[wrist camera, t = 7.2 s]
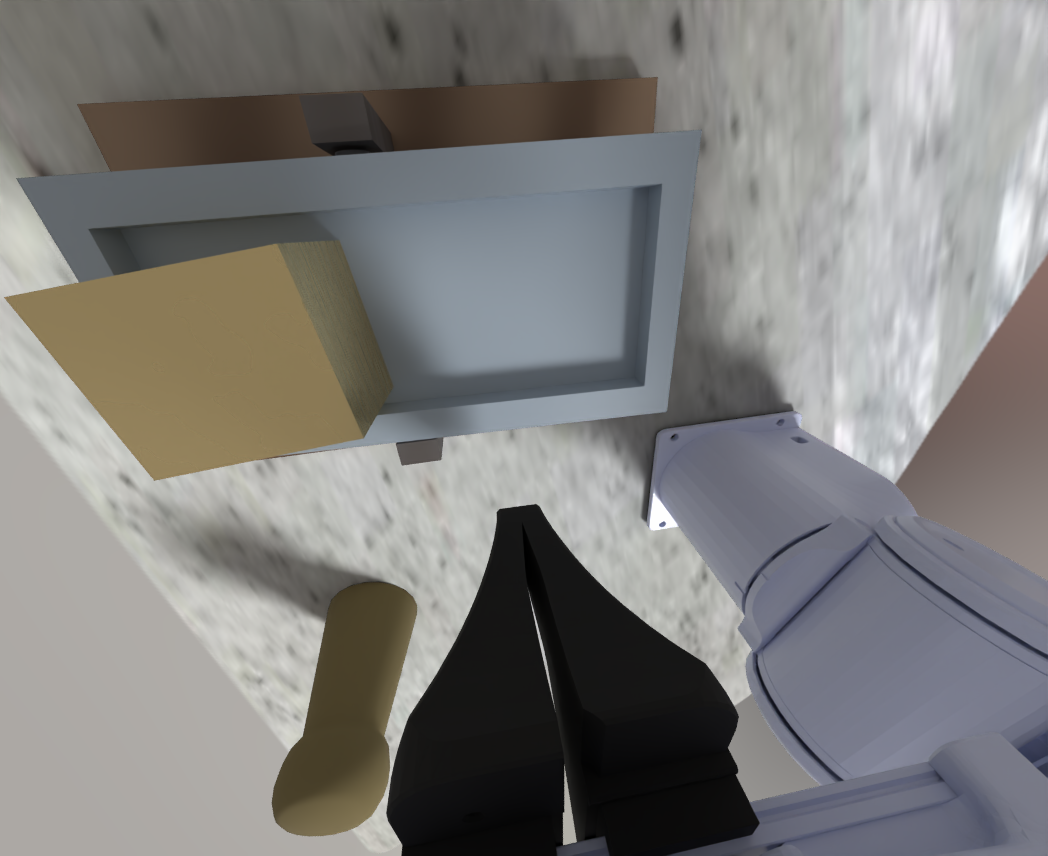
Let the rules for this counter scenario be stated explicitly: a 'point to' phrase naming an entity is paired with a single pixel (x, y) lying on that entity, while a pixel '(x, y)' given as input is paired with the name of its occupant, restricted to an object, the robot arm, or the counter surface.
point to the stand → (365, 131)
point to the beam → (443, 263)
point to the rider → (220, 355)
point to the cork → (347, 714)
